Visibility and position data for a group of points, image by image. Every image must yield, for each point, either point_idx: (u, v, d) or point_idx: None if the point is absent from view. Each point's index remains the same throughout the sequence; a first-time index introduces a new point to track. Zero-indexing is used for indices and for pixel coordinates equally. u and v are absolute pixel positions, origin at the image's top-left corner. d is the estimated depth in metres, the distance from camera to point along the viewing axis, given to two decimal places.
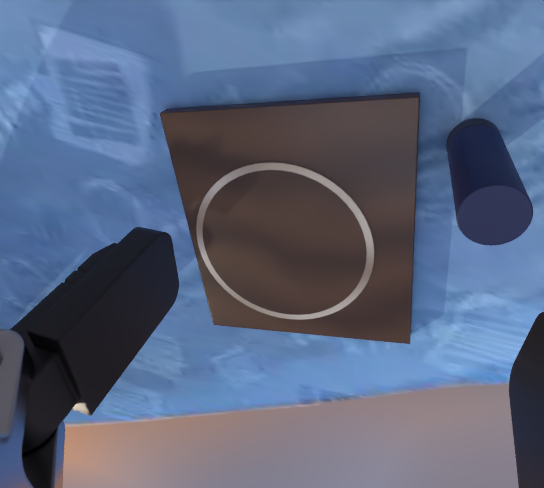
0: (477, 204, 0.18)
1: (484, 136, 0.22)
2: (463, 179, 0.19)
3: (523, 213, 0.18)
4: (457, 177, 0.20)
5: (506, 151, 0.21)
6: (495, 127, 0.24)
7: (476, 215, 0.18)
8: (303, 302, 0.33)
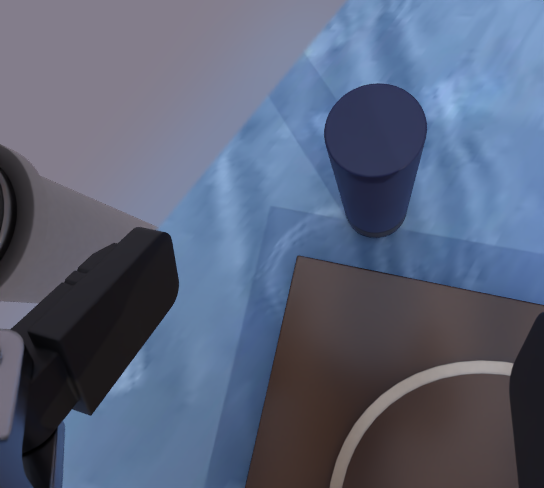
0: (350, 149, 0.12)
1: None
2: (340, 181, 0.14)
3: (376, 93, 0.12)
4: (349, 194, 0.15)
5: None
6: None
7: (368, 150, 0.12)
8: None
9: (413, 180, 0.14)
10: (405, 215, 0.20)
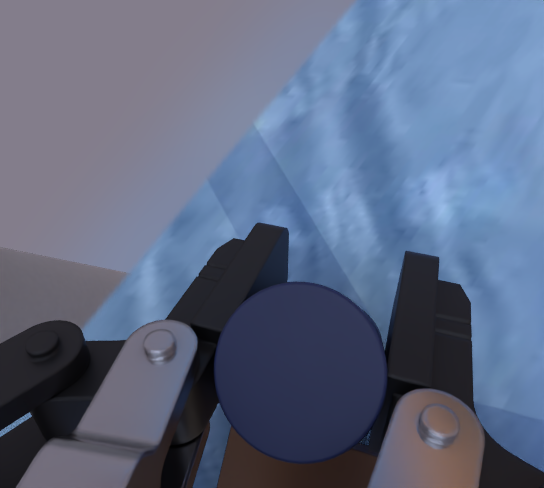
0: (254, 402, 0.07)
1: None
2: None
3: (301, 302, 0.07)
4: None
5: None
6: None
7: (285, 410, 0.07)
8: None
9: None
10: None
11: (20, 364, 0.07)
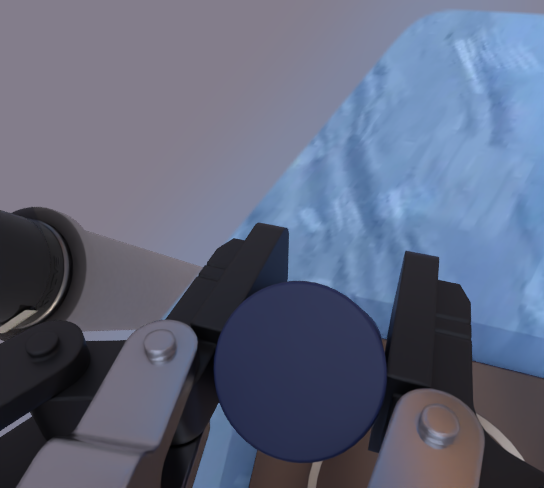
0: (254, 401, 0.07)
1: None
2: None
3: (301, 301, 0.07)
4: None
5: None
6: None
7: (285, 410, 0.07)
8: None
9: None
10: None
11: (19, 365, 0.07)
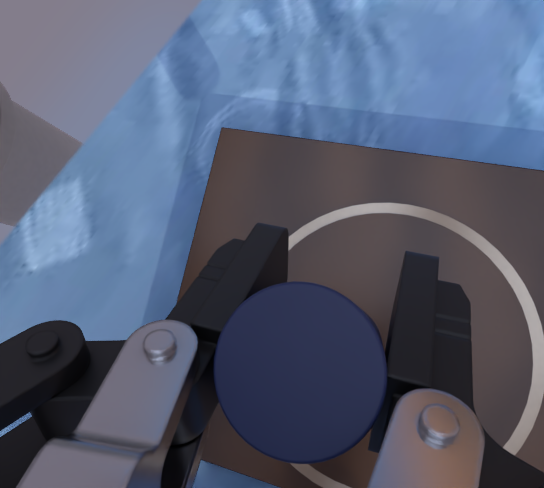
0: (254, 402, 0.07)
1: None
2: None
3: (301, 302, 0.07)
4: None
5: None
6: None
7: (285, 410, 0.07)
8: (501, 345, 0.18)
9: None
10: None
11: (19, 364, 0.07)
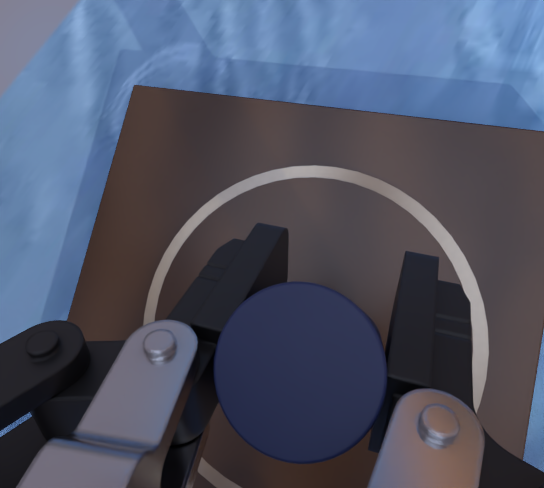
0: (254, 402, 0.07)
1: None
2: None
3: (301, 302, 0.07)
4: None
5: None
6: None
7: (285, 411, 0.07)
8: None
9: None
10: None
11: (20, 364, 0.07)
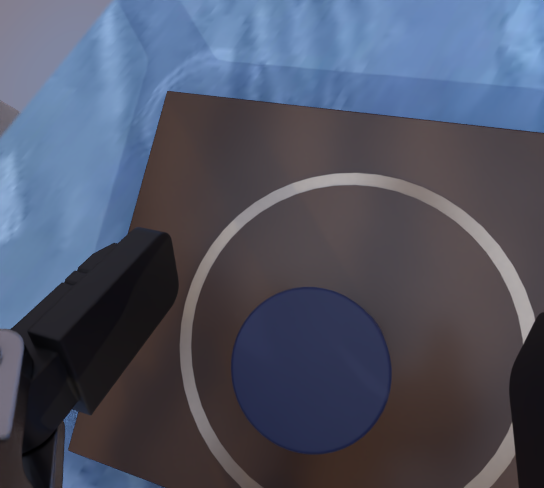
0: (269, 398, 0.08)
1: None
2: None
3: (312, 306, 0.08)
4: None
5: None
6: None
7: (297, 405, 0.08)
8: (485, 340, 0.15)
9: None
10: None
11: None
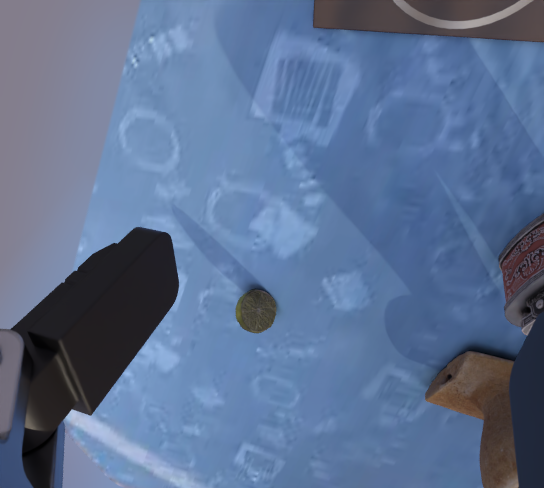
0: None
1: None
2: None
3: None
4: None
5: None
6: None
7: None
8: None
9: None
10: None
11: None
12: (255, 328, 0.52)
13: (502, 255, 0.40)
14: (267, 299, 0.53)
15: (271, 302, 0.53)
